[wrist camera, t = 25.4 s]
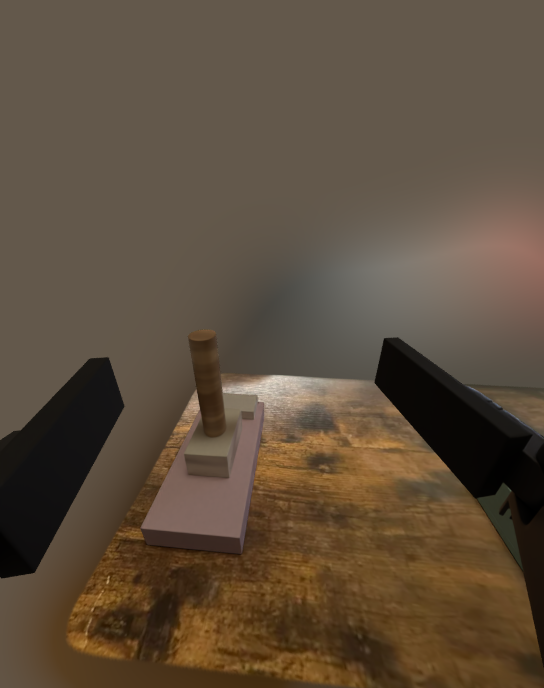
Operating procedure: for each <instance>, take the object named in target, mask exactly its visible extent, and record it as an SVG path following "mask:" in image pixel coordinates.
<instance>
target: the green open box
mask: <svg viewBox="0 0 544 688" xmlns="http://www.w3.org/2000/svg"><path fill="white" fill-rule="evenodd" d="M510 492H511V490H510V489H509V488H508V487H507V486H506V485H505V484H504V483H502V485H501V487H500V488H499V490H498V491H497V493H496V495H492V496H486V497H480V498H477V499H478V501H479V503H480V504H481V506H482V507H483V509H484V510H485V512H486V514H487V515H488V517H489V518H490V520H491V522H492V523H493V525H494V526H495V528H496V529H497V531H498V533H499V534H500V536H501V537H502V539H503V540H504V542H505V544H506V545H507V547H508V548H509V550H510V551H511V553H512V555H513V556H514V558H515V559H516V561H517V562H518V564H519V566H520V567H521V569H522V570H523V568H522V563H521V558H520V553H519V549H518V544H517V539H516V534H515V530H514V525H513V520H511V519H509V517H510V516H511V511H510V509H508V510H507V511H506V512H505V514H504V515H503V516H502V515H500V514H499V509H500V507H501V506H502V504H503V503H504V501H505V500H506V498H507V497H508V495H509V494H510Z"/></svg>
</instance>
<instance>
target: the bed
mask: <svg viewBox="0 0 544 688" xmlns="http://www.w3.org/2000/svg"><path fill="white" fill-rule="evenodd" d="M223 400H224V408H235V409H241V416H242V432H241V435H240V439H239V443H238V447H237V451H236V455H235V459H234V463H233V467H232V471H231V474H230V478H224V477H211V476H198V475H189V474H188V470H187V466H186V461H185V457H184V452H185V450H186V448H187V446H188V444H189V442H190V440H191V438H192V436H193V433H194V431H195V429H196V427H197V425H198V423H199V421H200V419H201V411H200V410H199V412H198V414H197V416H196V418H195V420H194V422H193V424H192V426H191V428H190V430H189V432H188V434H187V436H186V438H185V440H184V442H183V444H182V446H181V448H180V450H179V452H178V454H177V456H176V458H175V460H174V462H173V464H172V466H171V468H170V470H169V472H168V474H167V476H166V478H165V480H164V482H163V484H162V486H161V488H160V490H159V492H158V494H157V496H156V498H155V500H154V502H153V504H152V506H151V508H150V510H149V512H148V514H147V516H146V518H145V520H144V522H143V524H142V526H141V528H140V529H141V531H142V534H143V536H144V538H145V541H146V543H147V545H156V546H166V547H176V548H186V549H195V550H205V551H215V552H225V553H235V554H242V549H243V543H244V537H245V531H246V525H247V519H248V513H249V506H250V500H251V494H252V488H253V482H254V476H255V470H256V464H257V457H258V451H259V445H260V439H261V433H262V427H263V421H264V402H258V397H257V395H246V394H226V393H223Z"/></svg>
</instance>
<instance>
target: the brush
mask: <svg viewBox="0 0 544 688" xmlns="http://www.w3.org/2000/svg"><path fill="white" fill-rule="evenodd" d="M188 339H189V345H190V351H191V357H192V363H193V369H194V375H195V381H196V387H197V393H198V399H199V405H200V411H201V419H200V421H199V423H198V425H197V427H196V429H195V431H194V433H193V436H192V438H191V440H190V442H189V444H188V446H187V448H186V450H185V452H184V457H185V461H186V466H187V470H188V474H189V475H198V476H211V477H224V478H230V474H231V471H232V467H233V463H234V459H235V455H236V451H237V447H238V443H239V439H240V435H241V432H242V416H241V409H235V408H224V400H223V391H222V382H221V373H220V365H219V356H218V347H217V339H216V333H215V332H214V331H213V330H206V329H204V330H198V331H194V332H192V333H190V334H189V335H188Z"/></svg>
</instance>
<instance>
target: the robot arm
mask: <svg viewBox="0 0 544 688" xmlns="http://www.w3.org/2000/svg"><path fill="white" fill-rule="evenodd" d="M374 383H375V384H376V385H377V386H378V388H379V389H380V390H381V391H382V392H383V393H384V394H385V396H386V397H387V398H388V399H389V400H390V401H391V402H392V404H393V405H394V406H395V407H396V408H397V409H398V410H399V412H400V413H401V414H402V415H403V416H404V417H405V418H406V420H407V421H408V422H409V423H410V424H411V425H412V426H413V428H414V429H415V430H416V431H417V432H418V433H419V434H420V436H421V437H422V438H423V439H424V440H425V441H426V443H427V444H428V445H429V446H430V447H431V448H432V449H433V451H434V452H435V453H436V454H437V455H438V456H439V457H440V459H441V460H442V461H443V462H444V463H445V464H446V465H447V467H448V468H449V469H450V470H451V471H452V472H453V473H454V475H455V476H456V477H457V478H458V479H459V480H460V481H461V483H462V484H463V485H464V486H465V487H466V488H467V489H468V491H469V492H470V493H471V494H472V495H473V496H474V497H475V498H480V497H486V496H492V495H496V493H497V491H498V490H499V488H500V487H501V485H502V483H504V484H505V485H506V486H507V487H508V488H509V489H510V490H511V492H510V494H509V495H508V497H507V498H506V500H505V501H504V503H503V504H502V506H501V507H500V509H499V514H500V515H502V516H503V515H504V514H505V512H506V511H507V510H508V509H510V511H511V516H510V517H509V519H511V520H513V525H514V530H515V534H516V539H517V544H518V549H519V553H520V558H521V563H522V568H523V572H524V577H525V582H526V587H527V591H528V596H529V601H530V605H531V610H532V615H533V620H534V624H535V629H536V634H537V639H538V643H539V648H540V653H541V658H542V662H543V667H544V437H543V436H542V435H540V434H539V433H537V432H536V431H534V430H533V429H532V428H530V427H529V426H527V425H526V424H525V423H523V422H522V421H520V420H519V419H517V418H516V417H515V416H513V415H512V414H510V413H509V412H507V411H506V410H503V408H502V407H500V406H499V405H497V404H496V403H493V402H492V400H490V399H489V398H488V397H486V396H485V395H483V394H482V393H480V392H479V391H476V390H474V389H472V388H470V387H468V386H466V385H463V384H462V383H460V382H459V381H457V380H456V379H455V378H453V377H452V376H451V375H449V374H448V373H447V372H445V371H444V370H442V369H441V368H439V367H438V366H437V365H435V364H434V363H433V362H431V361H430V360H428V359H427V358H426V357H424V356H423V355H422V354H420V353H419V352H417V351H416V350H415V349H413V348H412V347H410V346H409V345H408V344H406V343H405V342H404V341H402V340H401V339H399V338H384V341H383V346H382V351H381V355H380V360H379V364H378V369H377V373H376V378H375V382H374ZM123 408H124V404H123V400H122V397H121V394H120V391H119V388H118V385H117V382H116V379H115V376H114V372H113V369H112V366H111V363H110V360H109V358H107V357H106V358H92V359H89V360H88V361H87V362H86V363H85V364H84V365H83V367H81V368H80V369H79V370H78V371H77V372H76V373H75V375H74V376H73V377H72V378H71V379H70V380H69V381H68V382H67V383H66V384H65V385H64V386H63V387H62V388H61V389H60V390H59V391H58V392H57V393H56V394H55V395H54V396H53V397H52V399H51V400H50V401H49V402H48V403H47V404H46V405H45V406H44V407H43V408H42V409H41V410H40V411H39V412H38V413H37V414H36V415H35V416H34V417H33V418H32V419H31V421H29V422H28V423H27V425H26V426H25V427H24V428H23V429H22V430H21V431H13V432H12V433H11V434H9V435H7V436H6V437H4V438H3V439H2V440H0V577H1V578H7V577H13V576H19V575H25V574H31V573H35V571H36V569H37V567H38V566H39V564H40V562H41V560H42V558H43V556H44V554H45V553H46V551H47V549H48V547H49V545H50V543H51V542H52V540H53V538H54V536H55V534H56V532H57V530H58V529H59V527H60V525H61V523H62V521H63V519H64V517H65V516H66V514H67V512H68V510H69V508H70V506H71V504H72V503H73V501H74V499H75V497H76V495H77V493H78V492H79V490H80V488H81V486H82V484H83V482H84V480H85V479H86V477H87V475H88V473H89V471H90V469H91V467H92V466H93V464H94V462H95V460H96V458H97V456H98V454H99V453H100V451H101V449H102V447H103V445H104V443H105V441H106V440H107V438H108V436H109V434H110V432H111V430H112V428H113V427H114V425H115V423H116V421H117V419H118V417H119V415H120V414H121V412H122V410H123Z"/></svg>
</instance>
